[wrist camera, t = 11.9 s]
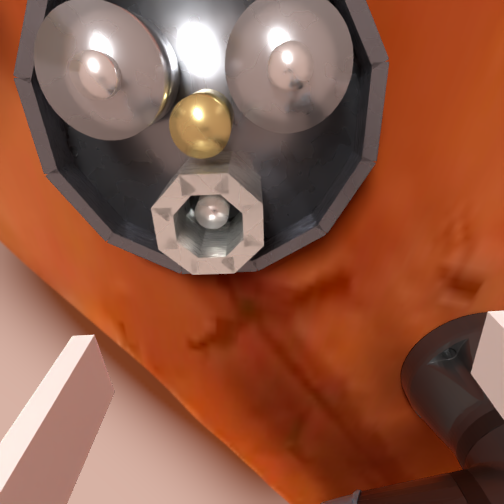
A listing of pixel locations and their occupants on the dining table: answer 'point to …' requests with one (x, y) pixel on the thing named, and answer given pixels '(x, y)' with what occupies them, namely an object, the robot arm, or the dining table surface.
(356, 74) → the carrier
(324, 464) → the dining table surface
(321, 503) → the robot arm
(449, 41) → the dining table surface
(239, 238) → the octagonal hollow container
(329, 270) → the dining table surface
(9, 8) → the dining table surface
